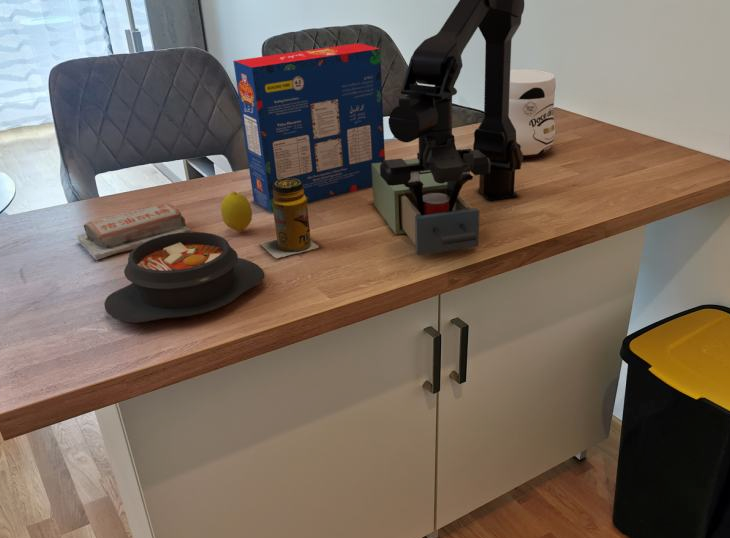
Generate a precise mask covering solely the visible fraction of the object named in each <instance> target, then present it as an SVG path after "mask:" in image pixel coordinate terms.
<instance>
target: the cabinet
mask: <svg viewBox="0 0 730 538" xmlns="http://www.w3.org/2000/svg"><path fill="white" fill-rule="evenodd" d="M403 160H404V161H405V162H406V163H407V164H413V163H419V160H418V159H417V157H416V158H409V159H403ZM381 163H382V162H381ZM381 163H372V164H371V165H372V184H373V186H372V199H373V200H372V201H373V202H372V203H373V205H374V207H375V208H376V209H377V212H379V214H380V216H381V217H382V218H383V219H384V221H385V222H386V223H387V225H388V226H389V228H390V229H391V230H392V231H393V233H394V234H395V235H402V234H404V235H405V234H406V232H405V231H404V230H403V228H402V227H401V226H400V224H399V199H398V195H399V194H407V193H411V191H410V189H409V188H408V187H406V186H405V185H404V184H401V185H393V186H392V185H388V184H387V183H386V182H385V180H384V179H383V178H382V177H381V176H380V165H381ZM419 180H420V181H421V182H422V183H423V188H422V192H423V191H431V190H439V189H446V188H447V182H445V183H442V184H440V183H437V182H435V181H434V178H433V175H432V173H426V174H419ZM458 195H459V196H460V193H459V194H458Z"/></svg>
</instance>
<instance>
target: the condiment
mask: <svg viewBox="0 0 730 538" xmlns="http://www.w3.org/2000/svg"><path fill="white" fill-rule="evenodd" d="M272 187H273V195H274V197H273V199H272V205H273V220H274V227H275V234H276V239H275V240H271V241H266V242H265V241H264V242H261V243H260V245H261V246H262V247H263V249H265V251H267V252H268V253H269V254H270V255H271V256H273V258H275V259H280V258H284V257H286V256H291V255H295V254H301V253H304V252H309V251H313V250H317V249H319V248H320V246H319V245H318V244H316V243H315V242H313V241H312V239H311V229H310V220H309V219H310V218H309V210H308V203H307V200H306V196H305V195H304V190H303V184H302V182H301V181H300V180H298V179H293V178H292V179H291V178H288V179H281V180H277V181H276V182H274V184H273V186H272Z"/></svg>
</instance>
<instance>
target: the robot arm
mask: <svg viewBox="0 0 730 538" xmlns="http://www.w3.org/2000/svg"><path fill="white" fill-rule="evenodd" d="M524 10H525V0H459V1H457V4H456V5H455V7H454V8H453V10H452V12H451V13H450V14H449V16H447V17H448V18H447V19H446V21H445V22H444V24H443V25H442V26H441V28H440V30H439V31H438V32H437V33H436V34H434V35H432V36H430V37H428V38H426V39H424V40H423V41H422V42H421V43H420V44H419V45H418V46H417V47H416V49H414V51H413V53H412V55H411V57H410V60H409V63H408V66H407V69H406V72H405V76H404V78H403V79H404V80H403V82H402V85H401V89H400V94H401V95H403V96H400V97H399V98H398V105H397V106H395V107H394V108H393V109H392V110H391V112H390V114H389V116H388V117H389V118H388V121H387V122H388V128H389V130H390V132H391V134H392V136H393V137H394V138H395V139H397V140H398V141H399V142H402V143H411V142H413V141H415V140H417V139H418V152H417V153H416V158H417V159H418V160H419V163H413V164H407V163H406V162H405V161H404V160H405V159H404V158H401V157H400V158H391V159H385V160H383V162H382V163H381V165H380V176H381V177H382V178H383V179H384V180H385V182H386V183H387V184H388V185H392V186H393V185H401V184H404V185H405V186H406V187H408V188H409V189H410V191H411V193H412V196H413V198H414V201H415V203H416V206H417V208H418V211H419V212H420V213H421V216H422V215H424V205H423V195H422V188H423V183H422V182H421V181H420V180H419V174H426V173H432V175H433V178H434V181H435V182H437V183H440V184H442V183H445V182H447V195H448V196H449V197H450V212H451V211H452V210H453V207H454V204H455V202H456V199H457V197H458V194H459V195H460V193H461V189H462V188H463V186H464V185H465V184H466V183H467V182H469V181H472V180H473V178H474V176H479V179H478V181H479V183H478V189H477V190H478V192H479V193H480V194H481V195H482V196H484V197H485V198H486V199H487V200H488V201H495V200H503V199H511V198H517V197H518V194H517V192H515V183H516V182H515V179H516V171H519V170H521V169H522V164H523V161H524V160H523V159H524V158H523V154H522V152H521V150H520V148H519V146H518V144H517V142H516V130H515V128H514V126H513V124H512V122H511V120H510V119H509V90H510V69H511V63H512V61H511V60H512V40H513V38H514V36H515V35H516V33H517V31H518V30H519V28H520V26H521V25H522V15H523V14H524ZM477 29H479V31H480V33H481V35H482V37H483V39H484V41H485V48H484V49H485V50H484V51H485V53H484V98H483V99H484V103H483V104H484V107H483V119H482V121H481V123H480V124H479V126H478V128H476V129H475V130H474V132H473V137H474V139H473V140H474V141H473V144H472V147H473V148H465V149H463V148H462V149H457V146H456V140H455V135H454V134H453V96H455V95H457V94H458V90H457V88H456V87H455V84H456V82H457V80H458V78H459V77H460V74H461V70H462V69H463V60H462V54H463V52H464V50H465V49H466V47H467V45H468V44H469V42H470V41H471V39H472V38H473V36H474V34H475V32H476V31H477ZM471 173H472V174H473V175H474V176H473V175H472V174H471Z"/></svg>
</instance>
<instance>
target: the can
mask: <svg viewBox="0 0 730 538" xmlns="http://www.w3.org/2000/svg"><path fill="white" fill-rule="evenodd" d="M423 205H424V215H429V214H436V213H444V212H450V197H449V196H448V195H446V194H441V193H431V194H426V195H424V196H423Z"/></svg>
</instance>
